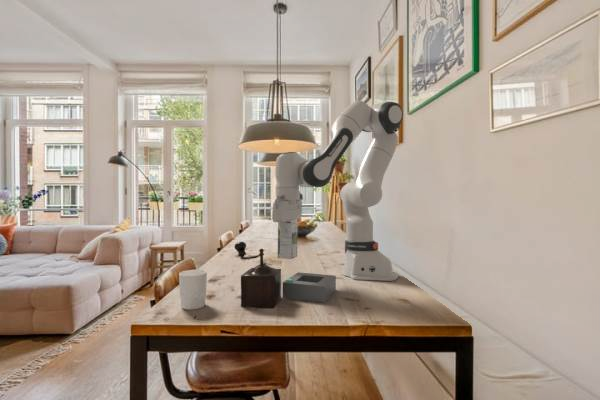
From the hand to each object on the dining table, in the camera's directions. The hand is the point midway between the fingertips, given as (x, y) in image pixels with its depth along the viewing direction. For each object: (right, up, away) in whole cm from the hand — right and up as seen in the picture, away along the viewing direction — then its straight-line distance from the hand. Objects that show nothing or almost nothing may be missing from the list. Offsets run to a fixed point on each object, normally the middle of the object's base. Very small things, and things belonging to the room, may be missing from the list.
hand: (288, 232), depth 117 cm
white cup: (-27, -20, -24) cm, 41 cm away
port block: (+8, -19, -13) cm, 24 cm away
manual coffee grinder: (-10, -20, -20) cm, 29 cm away
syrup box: (0, -10, 0) cm, 10 cm away
